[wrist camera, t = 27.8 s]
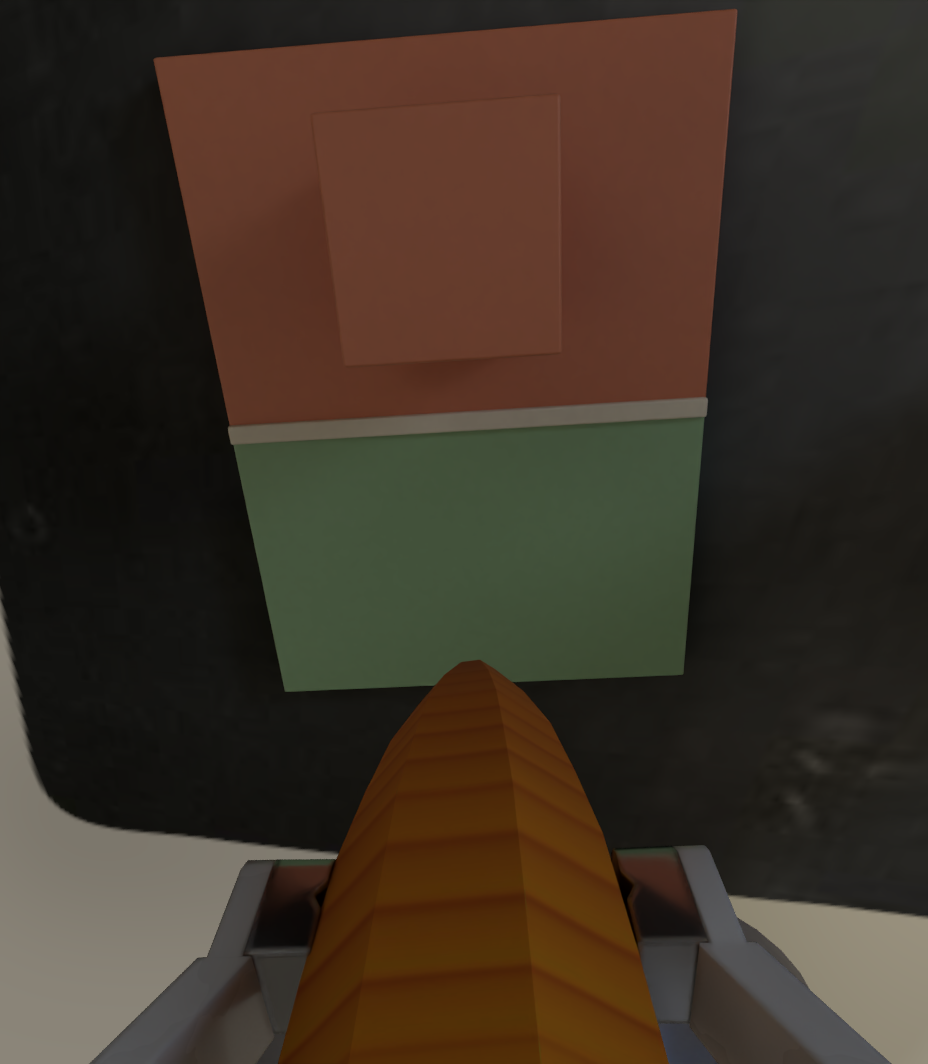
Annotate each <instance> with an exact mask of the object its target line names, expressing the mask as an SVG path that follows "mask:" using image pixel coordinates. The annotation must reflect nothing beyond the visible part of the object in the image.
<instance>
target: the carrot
mask: <svg viewBox="0 0 928 1064" xmlns="http://www.w3.org/2000/svg"><path fill="white" fill-rule="evenodd" d="M278 1064H669V1063H668V1059H667V1055H666V1052H665V1048H664V1044H663V1041H662V1037H661V1033H660V1030H659V1026H658V1022H657V1018H656V1015H655V1011H654V1007H653V1004H652V1000H651V996H650V993H649V989H648V985H647V981H646V978H645V974H644V970H643V967H642V963H641V959H640V956H639V952H638V948H637V945H636V942H635V938H634V935H633V932H632V928H631V925H630V922H629V919H628V915H627V912H626V909H625V905H624V902H623V899H622V895H621V892H620V889H619V885H618V882H617V879H616V875H615V872H614V869H613V865H612V862H611V859H610V856H609V852H608V849H607V846H606V842H605V839H604V836H603V833H602V830H601V828H600V826H599V824H598V821H597V819H596V817H595V815H594V812H593V810H592V808H591V806H590V804H589V801H588V799H587V797H586V795H585V792H584V790H583V788H582V786H581V783H580V781H579V779H578V777H577V774H576V772H575V770H574V768H573V766H572V764H571V762H570V760H569V758H568V756H567V754H566V752H565V751H564V749H563V747H562V745H561V743H560V741H559V739H558V737H557V735H556V733H555V731H554V729H553V727H552V725H551V723H550V722H549V721H548V719H547V718H546V717H545V716H544V715H543V713H542V712H541V711H540V710H539V709H538V708H537V706H536V705H535V704H534V703H533V702H532V701H531V699H530V698H529V697H528V696H527V695H526V694H525V692H524V691H523V690H521V689H520V688H519V687H517V686H516V685H515V684H514V683H512V682H511V681H510V680H509V679H507V678H506V677H505V676H503V675H502V674H501V673H500V672H498V671H497V670H496V669H494V668H493V667H491V666H490V665H488V664H486V663H485V662H483V661H482V660H472V661H465V662H460V663H459V664H458V665H456V666H455V667H454V668H452V669H451V670H450V671H449V672H447V673H446V674H445V675H444V676H443V677H442V678H441V679H440V680H439V681H438V683H437V684H436V685H435V686H434V687H433V688H432V690H431V691H430V692H429V693H428V694H427V695H426V697H425V698H424V699H423V700H422V701H421V702H420V704H419V705H418V706H417V707H416V709H415V710H414V711H413V713H412V714H411V715H410V717H409V718H408V719H407V720H406V722H405V723H404V724H403V726H402V727H401V728H400V730H399V731H398V732H397V733H396V735H395V736H394V737H393V739H392V740H391V741H390V743H389V745H388V747H387V749H386V752H385V754H384V756H383V758H382V760H381V762H380V764H379V766H378V768H377V770H376V772H375V774H374V776H373V778H372V780H371V782H370V784H369V786H368V788H367V790H366V792H365V794H364V796H363V799H362V801H361V803H360V806H359V808H358V810H357V813H356V815H355V817H354V820H353V822H352V824H351V827H350V829H349V831H348V833H347V836H346V838H345V840H344V843H343V845H342V847H341V850H340V852H339V854H338V857H337V859H336V861H335V864H334V868H333V871H332V875H331V878H330V882H329V886H328V888H327V891H326V895H325V898H324V902H323V905H322V908H321V916H320V920H319V924H318V927H317V931H316V935H315V939H314V942H313V946H312V950H311V953H310V955H309V956H308V957H307V959H306V962H305V966H304V969H303V972H302V976H301V979H300V983H299V986H298V990H297V994H296V998H295V1002H294V1005H293V1009H292V1013H291V1017H290V1020H289V1024H288V1028H287V1032H286V1035H285V1039H284V1043H283V1047H282V1050H281V1054H280V1058H279V1062H278Z"/></svg>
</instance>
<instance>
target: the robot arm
mask: <svg viewBox="0 0 928 1064" xmlns="http://www.w3.org/2000/svg"><path fill="white" fill-rule="evenodd" d="M335 861H336V860H335V859H322V860H321V859H315V860H314V859H310V860H248V861H247V862H246V864H245V865H244V866H243V868H242V869H241V870H240V873H239V876H238V878H237V881H236V883H235V886H234V889H233V891H232V894H231V896H230V899H229V901H228V904H227V906H226V909H225V912H224V915H223V917H222V919H221V922H220V925H219V927H218V930H217V932H216V935H215V938H214V940H213V943H212V945H211V948H210V950H209V953H208V956H207V957H203V958H197V959H196V960H195V961H194V962H193V963H192V964H191V965H190V966H189V967H188V968H187V969H186V970H185V971H184V972H183V973H182V974H181V975H180V976H179V977H178V978H177V979H176V980H175V981H173V982H172V983H171V984H170V986H168V987H167V988H166V989H165V990H164V991H163V992H162V993H161V994H160V995H159V996H158V997H157V998H156V999H155V1000H154V1001H153V1002H152V1003H151V1004H150V1005H149V1006H148V1007H147V1008H146V1009H145V1010H144V1011H143V1012H142V1013H141V1014H140V1015H139V1016H138V1017H137V1018H136V1019H135V1020H134V1021H133V1022H132V1023H131V1024H130V1025H129V1026H127V1027H126V1029H124V1030H123V1031H122V1032H121V1033H120V1034H119V1035H118V1036H117V1037H116V1038H115V1039H114V1040H113V1041H112V1042H111V1043H110V1044H109V1045H108V1046H107V1047H106V1048H105V1049H104V1050H103V1051H102V1052H101V1053H100V1054H99V1055H98V1056H97V1057H96V1058H95V1059H94V1060H93V1061H92V1062H91V1063H90V1064H256V1063H257V1061H258V1060H259V1059H260V1057H261V1056H262V1054H263V1053H264V1052H265V1050H266V1049H267V1047H268V1046H269V1045H270V1043H271V1042H272V1040H273V1039H274V1034H277V1033H286V1032H287V1028H288V1024H289V1020H290V1017H291V1013H292V1009H293V1005H294V1002H295V998H296V994H297V990H298V986H299V983H300V979H301V976H302V972H303V969H304V966H305V962H306V959H307V957H308V956H309V955H310V953H311V950H312V946H313V942H314V939H315V935H316V931H317V927H318V924H319V920H320V916H321V908H322V905H323V902H324V898H325V895H326V891H327V888H328V886H329V882H330V878H331V875H332V871H333V868H334V864H335ZM611 862H612V865H613V869H614V872H615V875H616V879H617V882H618V885H619V889H620V892H621V895H622V899H623V902H624V905H625V909H626V912H627V915H628V919H629V922H630V925H631V928H632V932H633V935H634V938H635V942H636V945H637V948H638V952H639V956H640V959H641V963H642V967H643V970H644V974H645V978H646V981H647V985H648V989H649V993H650V996H651V1000H652V1004H653V1007H654V1011H655V1015H656V1018H657V1022H658V1023H688V1024H690V1028H691V1029H692V1031H693V1032H694V1033H695V1035H696V1036H697V1037H698V1038H699V1040H700V1041H701V1042H702V1044H703V1045H704V1046H705V1047H706V1049H707V1050H708V1051H709V1053H710V1054H711V1055H712V1056H713V1058H714V1059H715V1060H716V1062H717V1063H718V1064H891V1063H890V1062H889V1061H888V1060H887V1059H886V1058H885V1057H883V1056H882V1055H881V1054H880V1053H879V1052H878V1051H877V1050H876V1049H875V1048H873V1047H872V1046H871V1045H870V1044H869V1043H868V1042H867V1041H866V1040H864V1038H862V1037H861V1036H860V1035H859V1034H858V1033H857V1032H856V1031H855V1030H854V1029H852V1028H851V1027H850V1026H849V1025H848V1024H847V1023H846V1022H845V1021H844V1020H842V1019H841V1018H840V1017H839V1016H838V1015H837V1014H836V1013H835V1012H833V1010H831V1009H830V1008H829V1007H828V1006H827V1005H826V1004H825V1003H824V1002H823V1001H821V1000H820V999H819V998H818V997H817V996H816V995H815V994H814V993H813V992H812V991H810V990H809V989H808V988H807V987H806V986H805V985H804V984H803V983H802V982H800V981H799V980H798V979H797V978H796V977H795V976H794V975H793V974H792V973H791V972H789V971H788V970H787V969H786V968H785V967H784V966H783V965H782V964H781V963H779V962H778V961H777V960H776V959H775V958H774V957H773V956H772V955H771V954H769V953H768V952H767V951H766V950H765V949H764V948H763V947H762V946H761V945H760V944H758V943H757V942H747V941H746V939H745V936H744V934H743V931H742V929H741V927H740V924H739V922H738V919H737V917H736V914H735V912H734V909H733V907H732V905H731V902H730V900H729V897H728V895H727V892H726V890H725V887H724V885H723V883H722V880H721V878H720V875H719V873H718V870H717V868H716V865H715V863H714V861H713V858H712V856H711V853H710V851H709V850H708V849H707V847H706V846H705V845H697V846H674V847H672V846H656V847H636V848H615V849H613V850H612V853H611Z"/></svg>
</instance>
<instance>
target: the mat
mask: <svg viewBox="0 0 928 1064" xmlns="http://www.w3.org/2000/svg"><path fill="white" fill-rule="evenodd" d="M736 23H737V10H736V9H728V10H716V11H704V12H692V13H680V14H669V15H657V16H645V17H633V18H621V19H609V20H597V21H585V22H574V23H562V24H550V25H538V26H526V27H514V28H502V29H491V30H479V31H467V32H455V33H443V34H431V35H419V36H407V37H396V38H384V39H372V40H360V41H348V42H336V43H324V44H313V45H301V46H289V47H277V48H265V49H253V50H241V51H229V52H218V53H206V54H194V55H182V56H170V57H158V58H155V59H154V64H155V69H156V74H157V79H158V84H159V88H160V93H161V98H162V103H163V108H164V112H165V117H166V122H167V127H168V132H169V136H170V141H171V146H172V151H173V156H174V160H175V165H176V170H177V175H178V179H179V184H180V189H181V194H182V199H183V203H184V208H185V213H186V218H187V223H188V227H189V232H190V237H191V242H192V247H193V251H194V256H195V261H196V266H197V271H198V275H199V280H200V285H201V290H202V295H203V299H204V304H205V309H206V314H207V319H208V323H209V328H210V333H211V338H212V343H213V347H214V352H215V357H216V362H217V367H218V371H219V376H220V381H221V386H222V391H223V395H224V400H225V405H226V410H227V415H228V419H229V424H230V426H229V427H228V432H229V437H230V442H231V444H232V445H234V450H235V454H236V459H237V464H238V469H239V473H240V478H241V483H242V488H243V493H244V497H245V502H246V507H247V512H248V517H249V521H250V526H251V531H252V536H253V541H254V545H255V550H256V555H257V560H258V565H259V569H260V574H261V579H262V584H263V588H264V593H265V598H266V603H267V608H268V612H269V617H270V622H271V627H272V632H273V636H274V641H275V646H276V651H277V656H278V660H279V665H280V670H281V675H282V680H283V684H284V689H285V692H292V691H315V690H338V689H362V688H385V687H408V686H432V685H436V684H437V683H438V681H439V680H440V679H441V678H442V677H443V676H444V675H445V674H446V673H447V672H449V671H450V670H451V669H452V668H454V667H455V666H456V665H458V664H459V663H460V662H465V661H472V660H482V661H483V662H485V663H486V664H488V665H490V666H491V667H493V668H494V669H496V670H497V671H498V672H500V673H501V674H502V675H503V676H505V677H506V678H507V679H509V680H510V681H511V682H525V681H548V680H572V679H595V678H618V677H642V676H665V675H683V672H684V660H685V647H686V635H687V623H688V611H689V599H690V587H691V574H692V562H693V550H694V538H695V526H696V513H697V501H698V489H699V477H700V465H701V453H702V440H703V428H704V417H705V416H706V415H707V405H708V399H707V398H706V389H707V376H708V364H709V352H710V340H711V328H712V315H713V303H714V291H715V279H716V267H717V254H718V242H719V230H720V218H721V206H722V193H723V181H724V169H725V157H726V145H727V133H728V120H729V108H730V96H731V84H732V72H733V59H734V47H735V35H736ZM552 93H557V94H559V95H560V97H561V263H562V352H561V353H560V354H556V355H540V356H525V357H509V358H493V359H478V360H462V361H446V362H431V363H415V364H400V365H384V366H368V367H353V368H346V367H345V366H344V365H343V358H342V350H341V343H340V335H339V328H338V321H337V313H336V306H335V298H334V291H333V283H332V276H331V268H330V261H329V254H328V246H327V239H326V231H325V224H324V216H323V209H322V201H321V194H320V187H319V179H318V172H317V164H316V157H315V149H314V142H313V134H312V127H311V120H310V117H311V114H312V113H316V112H329V111H341V110H354V109H366V108H378V107H391V106H403V105H416V104H428V103H441V102H453V101H465V100H478V99H490V98H503V97H515V96H527V95H540V94H552Z"/></svg>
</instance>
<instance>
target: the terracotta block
mask: <svg viewBox="0 0 928 1064" xmlns="http://www.w3.org/2000/svg"><path fill="white" fill-rule="evenodd" d="M310 120H311V127H312V134H313V142H314V149H315V157H316V164H317V172H318V179H319V187H320V194H321V201H322V209H323V216H324V224H325V231H326V239H327V246H328V254H329V261H330V268H331V276H332V283H333V291H334V298H335V306H336V313H337V321H338V328H339V335H340V343H341V350H342V358H343V365H344V366H345V367H346V368H353V367H368V366H384V365H400V364H415V363H431V362H446V361H462V360H478V359H493V358H509V357H525V356H540V355H556V354H560V353H561V352H562V263H561V97H560V95H559V94H557V93H552V94H540V95H527V96H515V97H503V98H490V99H478V100H465V101H453V102H441V103H428V104H416V105H403V106H391V107H378V108H366V109H354V110H341V111H329V112H316V113H312V114H311V117H310Z"/></svg>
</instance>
